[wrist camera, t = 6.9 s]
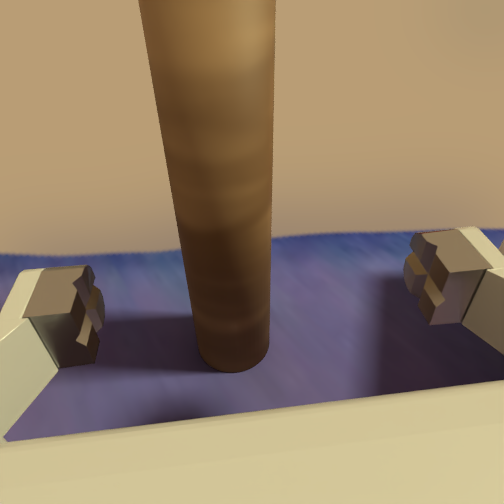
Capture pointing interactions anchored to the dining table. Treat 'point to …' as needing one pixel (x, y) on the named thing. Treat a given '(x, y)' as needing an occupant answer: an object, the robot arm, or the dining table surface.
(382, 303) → the dining table surface
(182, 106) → the long walnut pin
